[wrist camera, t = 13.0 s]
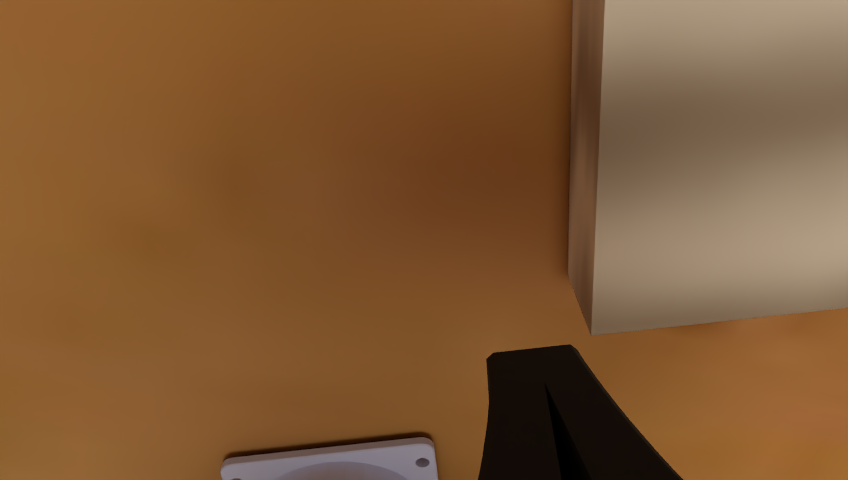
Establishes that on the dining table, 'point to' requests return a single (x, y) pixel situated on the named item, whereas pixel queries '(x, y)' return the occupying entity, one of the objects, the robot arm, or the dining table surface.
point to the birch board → (707, 160)
